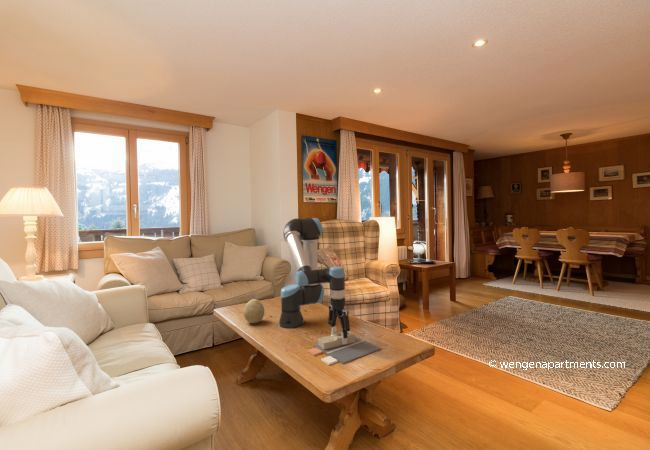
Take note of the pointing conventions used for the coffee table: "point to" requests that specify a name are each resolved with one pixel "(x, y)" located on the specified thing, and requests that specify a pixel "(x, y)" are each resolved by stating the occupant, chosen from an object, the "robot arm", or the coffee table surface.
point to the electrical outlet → (335, 340)
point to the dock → (345, 351)
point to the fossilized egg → (254, 311)
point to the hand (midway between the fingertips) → (339, 341)
